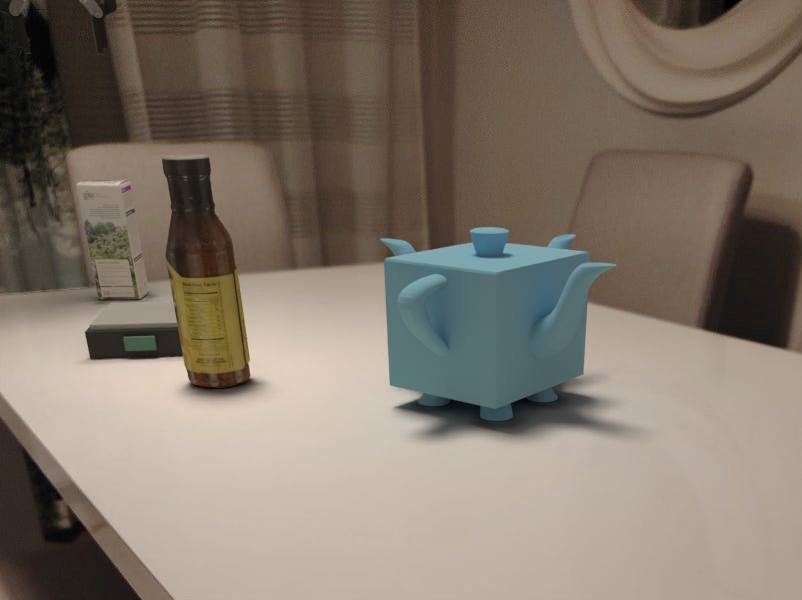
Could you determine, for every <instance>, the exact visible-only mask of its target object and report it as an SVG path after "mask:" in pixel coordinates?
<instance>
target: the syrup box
mask: <svg viewBox="0 0 802 600" xmlns="http://www.w3.org/2000/svg"><path fill="white" fill-rule="evenodd" d="M75 185H76V187H75V188H76V194H77V198H78V203H79V209H80V213H81V217H82V222H83V223H82V224H83V228H84V233H85V238H86V243H87V249H88V253H89V258H90V264H91V269H92V274H93V278H94V284H95V289H96V293H97V298H98V300H141V299H142V298H144V297H146V295H147V294H148V293H150V288H149V283H148V278H147V274H146V273H147V272H146V267H145V261H144V257H143V256H144V255H143V251H142V244H141V238H140V232H139V226H138V220H137V214H136V207H135V202H134V201H135V200H134V194H133V190H132V184H131V181H130V180H129V179H84V180H80V181H79V182H77V183H75Z"/></svg>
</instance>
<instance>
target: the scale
mask: <svg viewBox="0 0 802 600" xmlns="http://www.w3.org/2000/svg"><path fill="white" fill-rule="evenodd" d="M84 335H85V341H86V344H87V345H86V346H87V350H88V354H89V358H90V359H117V358H118V359H119V358H120V359H123V358H146V357H147V358H149V357H179V356H182V357H183V353H182V348H181V342H180V336H179V331H178V324H177V320H176V314H175V308H174V302H173V300H163V301H160V300H158V301H125V302H124V301H123V302H120V301H119V302H110V303H109V304H108V305H107V306H106V307H105V308H104V309H103V310H102V311H101V312H100V313H99V315H97V317H96V318H94V320H93V321H92V322H91V323H89V327H88V328H87V329H86V330H84Z"/></svg>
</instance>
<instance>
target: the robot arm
mask: <svg viewBox="0 0 802 600" xmlns="http://www.w3.org/2000/svg"><path fill="white" fill-rule="evenodd" d="M27 1H28V0H11V2H9V1H7V0H0V12H1V13H4V14H6V15H8V17H10V19H11V24H12V29H13V34H14V38H15V43H16V45H17V46H18V48H19V49H23V52H24V55H31V54H32V53H31V48H30V43H29V38H28V34H27V33H28V32H27V28H26V24H25V23H26V22H25V19H24V17H23V16H22V11H23V10H24V7H25V6H26V3H27ZM78 1H79V2H80V3H81V4H82V5H83V6H84V8H85V9H86V11H88V13H89V14H90V15H91V17H92V18H91V19H90V21H91V27H92V33H93V39H94V44H95V50H96V55H104V50H107V49H108V46H109V44H108V43H109V42H108V37H107V32H106V25H105V17H106V16H110V15H112V14H114V13H115V12H117V9H118V6H117V1H116V0H103V2H102V3H101V4H98V3H97V2H96V0H78Z"/></svg>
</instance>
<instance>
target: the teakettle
mask: <svg viewBox="0 0 802 600" xmlns="http://www.w3.org/2000/svg"><path fill="white" fill-rule="evenodd" d="M469 235H470V239H471V242H467V243H461V244H456V245H449V246H444V247H437V248H434V249H428V250H427V249H426V250H421V251H416V250H415V248H414V247H413V246H412V244H411V243H409V242H408V241H406V240H404V239H403V240H402V239H396V238H387V237H386V238H384V237H383V238H380V239H379V241H380V242H381V243H383V244H384V245H385V246H386V247H387V248H388V249H389V250H390V251H391V252H392V253H393V255H394V256H390V257H389V256H388V257H385V259H384V260H383V269H384V270H383V271H384V294H385V295H384V297H385V313H386V314H385V315H386V336H387V337H386V338H387V357H388V374H389V375H388V379H389V381H388V382H389V386H391V387H395V388H400V389H404V390H407V391H408V390H409V391H413V392H418V393H421V396H420V397H419V399H418V401H417V403H418V404H419V405H421V406H426V407H442V406H446V405H448V404H450V402H451V400H453V401H457V402H462V403H467V404H471V405H475V406H480V407H479V408H480V409H479V417H480V419H482V420H486V421H489V422H503V421H508V420H511V419H513V418H514V414H513V408H512V403H514V402H517V401H519V400H522V399H524V398H526V400H528V401H531V402H534V403H551V402H555V401H557V400H558V395H557V394H556V392H555V391H554V389H553V387H556V386H558V385H560V384H561V385H562V384H563V383H565V382H568V381H571V380H573V379H576V378H578V377H580V376H581V377H582V376H583V375H584V372H585V371H584V370H585V353H586V335H587V321H588V320H587V319H588V303H589V302H588V301H589V290H590V288H591V286H592V285H593V283H594V281H595V280H596V279H597V278H598V277H599V276H600V275H602V274H603V273H605V272H607V271H609V270H611V269H614V268H616V267H617V266H618V265H617V264H615V263H610V262H593V261H592V262H591V254H590V252H589V251H584V250H576V249H569V247H570V246H571V244H572V243H573V242H574V240H575V239H576V237H577V235H576V234H569V233H568V234H561V235H558V236H555V237H553V238H552V239H551V240H550V242H549V244H548V245H547V246H538V245H528V244H519V243H512V242H511V243H509V242H507V241H508V238H509V235H510V230H508V228H503V227H497V226H496V227H495V226H483V227H474V228H472V229H470V230H469Z"/></svg>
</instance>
